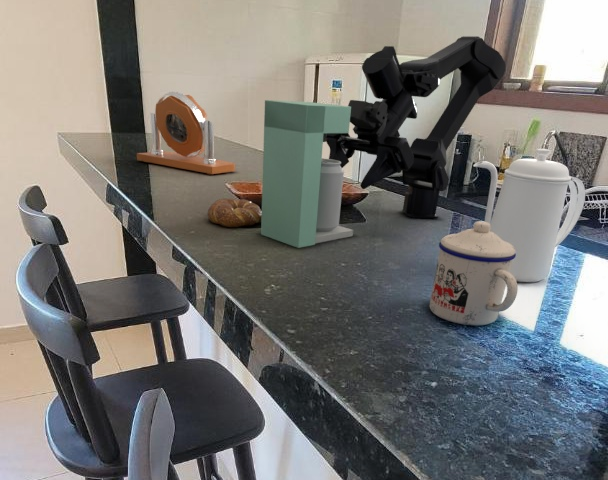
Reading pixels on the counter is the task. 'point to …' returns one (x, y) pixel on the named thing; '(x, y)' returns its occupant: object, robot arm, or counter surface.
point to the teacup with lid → (473, 277)
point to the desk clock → (183, 136)
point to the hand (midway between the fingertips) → (343, 183)
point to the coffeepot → (533, 211)
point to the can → (329, 195)
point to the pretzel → (234, 213)
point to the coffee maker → (297, 169)
